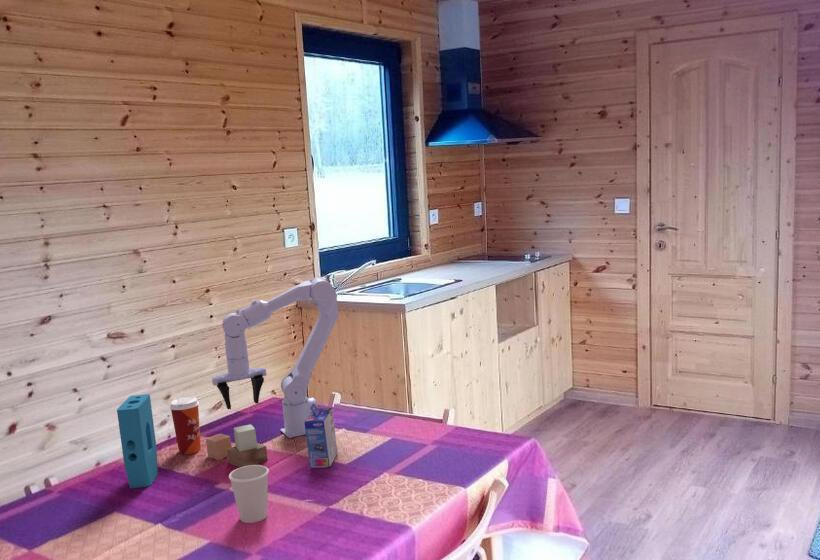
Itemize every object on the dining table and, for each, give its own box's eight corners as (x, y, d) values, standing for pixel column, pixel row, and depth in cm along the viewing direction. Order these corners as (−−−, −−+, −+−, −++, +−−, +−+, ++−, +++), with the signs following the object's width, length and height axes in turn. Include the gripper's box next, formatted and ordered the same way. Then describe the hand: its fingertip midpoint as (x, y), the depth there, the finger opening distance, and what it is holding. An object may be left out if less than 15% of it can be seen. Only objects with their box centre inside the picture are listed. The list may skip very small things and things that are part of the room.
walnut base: (251, 455, 201) (250, 440, 201) (267, 460, 197) (266, 445, 196) (228, 464, 196) (227, 449, 196) (244, 469, 192) (243, 454, 191)
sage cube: (252, 442, 199) (250, 424, 198) (257, 447, 195) (255, 428, 194) (235, 446, 197) (233, 427, 197) (239, 451, 193) (237, 432, 193)
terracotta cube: (222, 451, 206) (220, 433, 205) (232, 454, 203) (230, 436, 202) (208, 456, 202) (205, 438, 202) (217, 460, 199) (215, 441, 199)
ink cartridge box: (317, 453, 198) (311, 399, 196) (338, 452, 198) (333, 398, 196) (308, 468, 189) (302, 411, 187) (330, 467, 188) (325, 410, 186)
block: (148, 489, 183) (137, 408, 180) (126, 491, 183) (115, 410, 180) (160, 469, 195) (150, 393, 192) (140, 471, 195) (130, 395, 192)
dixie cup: (256, 505, 170) (251, 461, 168) (281, 513, 164) (276, 469, 163) (225, 520, 163) (220, 475, 162) (250, 529, 158) (245, 483, 157)
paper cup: (199, 455, 204) (193, 404, 202) (171, 456, 204) (164, 406, 202) (208, 444, 211) (202, 395, 209) (180, 446, 212) (174, 397, 210)
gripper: (214, 365, 202) (219, 414, 204) (267, 355, 209) (272, 403, 211) (208, 360, 209) (213, 408, 211) (260, 350, 215) (265, 397, 217)
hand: (242, 405), depth 211 cm, fingers open, 7 cm apart
